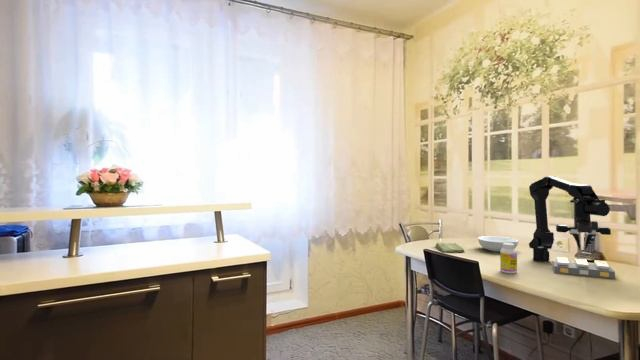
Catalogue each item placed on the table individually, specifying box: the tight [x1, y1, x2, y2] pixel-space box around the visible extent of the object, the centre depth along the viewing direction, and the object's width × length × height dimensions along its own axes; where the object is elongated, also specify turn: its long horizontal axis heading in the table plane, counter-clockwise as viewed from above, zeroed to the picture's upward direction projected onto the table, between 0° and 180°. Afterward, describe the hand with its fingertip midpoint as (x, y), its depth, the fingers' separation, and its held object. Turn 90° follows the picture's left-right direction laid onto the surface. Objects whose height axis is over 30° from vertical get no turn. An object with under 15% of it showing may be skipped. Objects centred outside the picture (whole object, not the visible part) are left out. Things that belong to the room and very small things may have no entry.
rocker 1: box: [556, 256, 570, 266], centre depth 158 cm, size 4×6×1 cm, turn 151°
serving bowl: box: [477, 235, 519, 253], centre depth 202 cm, size 21×21×7 cm
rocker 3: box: [594, 259, 610, 269], centre depth 151 cm, size 4×6×1 cm, turn 151°
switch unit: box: [551, 260, 616, 280], centre depth 155 cm, size 21×10×3 cm, turn 61°
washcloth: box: [435, 242, 465, 253], centre depth 207 cm, size 13×18×3 cm
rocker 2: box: [574, 258, 589, 267], centre depth 155 cm, size 4×6×1 cm, turn 151°
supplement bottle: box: [499, 243, 518, 275], centre depth 158 cm, size 7×7×13 cm
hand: (582, 249), depth 153 cm, fingers closed
